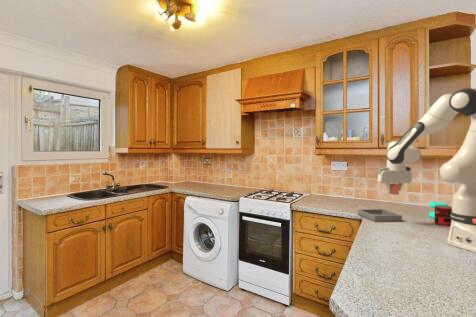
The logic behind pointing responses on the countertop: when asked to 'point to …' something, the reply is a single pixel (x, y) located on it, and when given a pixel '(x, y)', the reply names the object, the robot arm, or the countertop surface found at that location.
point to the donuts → (434, 207)
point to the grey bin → (379, 215)
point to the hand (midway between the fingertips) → (394, 190)
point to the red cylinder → (394, 189)
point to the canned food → (443, 215)
